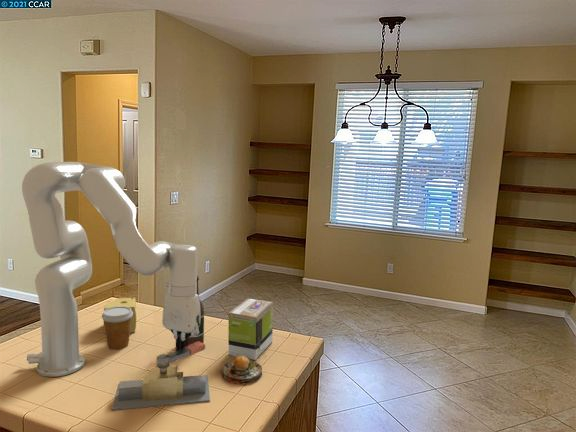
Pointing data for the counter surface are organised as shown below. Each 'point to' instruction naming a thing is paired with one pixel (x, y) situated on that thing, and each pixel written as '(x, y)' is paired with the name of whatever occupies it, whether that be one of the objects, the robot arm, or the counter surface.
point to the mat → (146, 403)
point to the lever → (179, 354)
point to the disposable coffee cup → (117, 326)
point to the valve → (162, 385)
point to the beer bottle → (201, 329)
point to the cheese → (127, 303)
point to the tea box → (250, 328)
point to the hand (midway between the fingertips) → (181, 351)
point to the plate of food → (242, 371)
